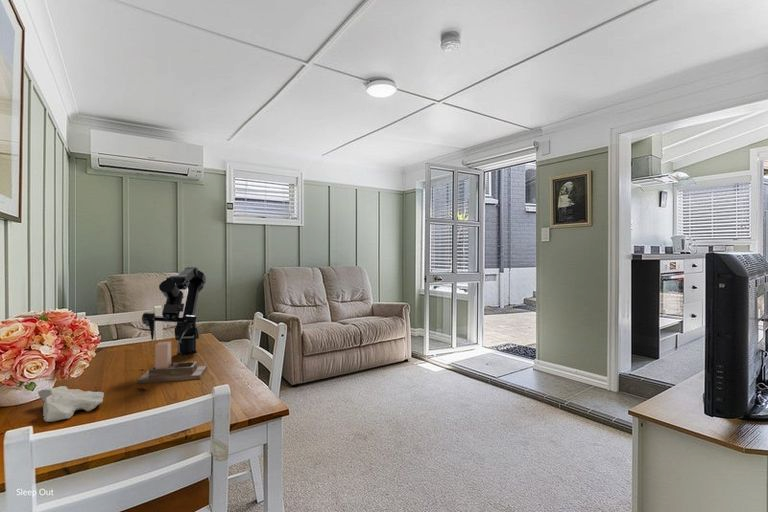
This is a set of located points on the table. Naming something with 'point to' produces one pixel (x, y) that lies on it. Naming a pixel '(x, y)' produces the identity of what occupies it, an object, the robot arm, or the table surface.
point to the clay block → (163, 355)
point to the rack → (173, 373)
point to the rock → (67, 402)
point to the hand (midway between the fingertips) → (165, 340)
